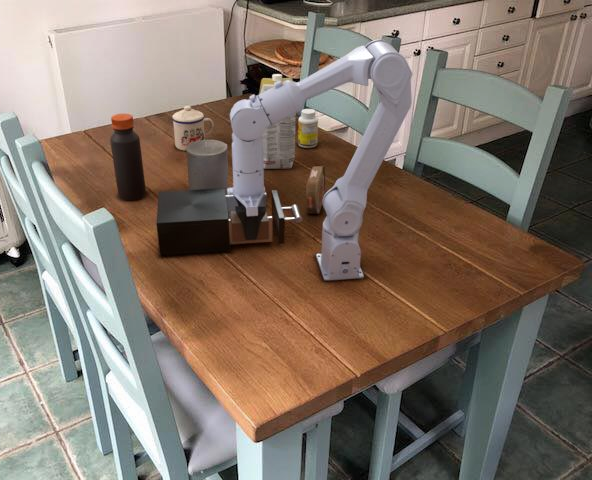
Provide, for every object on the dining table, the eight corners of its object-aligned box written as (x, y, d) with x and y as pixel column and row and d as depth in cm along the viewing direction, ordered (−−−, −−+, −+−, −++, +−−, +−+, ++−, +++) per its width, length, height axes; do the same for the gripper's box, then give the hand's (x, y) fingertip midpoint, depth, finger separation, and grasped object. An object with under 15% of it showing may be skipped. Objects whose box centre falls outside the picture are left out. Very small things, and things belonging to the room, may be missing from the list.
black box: (226, 219, 146) (224, 187, 141) (230, 252, 133) (228, 218, 129) (162, 223, 144) (158, 191, 140) (160, 257, 132) (156, 223, 128)
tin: (317, 220, 145) (318, 187, 141) (303, 219, 146) (304, 186, 141) (325, 192, 158) (327, 160, 153) (313, 190, 158) (314, 159, 154)
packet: (268, 239, 122) (268, 220, 119) (232, 241, 121) (231, 222, 119) (266, 226, 126) (265, 208, 124) (230, 228, 125) (230, 210, 123)
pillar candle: (184, 195, 156) (179, 138, 148) (220, 187, 160) (217, 131, 152) (198, 212, 149) (194, 152, 141) (236, 203, 153) (234, 144, 144)
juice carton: (293, 158, 176) (294, 71, 163) (295, 170, 169) (297, 80, 156) (259, 158, 175) (258, 72, 162) (260, 170, 169) (259, 81, 156)
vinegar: (119, 202, 153) (107, 123, 142) (117, 190, 159) (106, 113, 148) (147, 199, 155) (138, 120, 144) (144, 187, 160) (135, 110, 149)
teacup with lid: (181, 153, 178) (177, 113, 172) (170, 143, 185) (166, 104, 179) (220, 146, 183) (218, 107, 177) (208, 136, 190) (205, 98, 184)
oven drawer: (294, 213, 146) (295, 188, 143) (304, 242, 135) (305, 216, 132) (218, 217, 145) (216, 193, 141) (221, 248, 133) (219, 221, 130)
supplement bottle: (301, 140, 186) (302, 106, 181) (319, 142, 185) (320, 108, 179) (295, 147, 182) (296, 112, 176) (313, 149, 180) (315, 115, 175)
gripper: (224, 152, 121) (227, 215, 129) (228, 185, 109) (231, 252, 117) (260, 151, 122) (261, 213, 129) (269, 183, 110) (269, 249, 117)
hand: (249, 231), depth 123 cm, fingers closed on packet, 5 cm apart
